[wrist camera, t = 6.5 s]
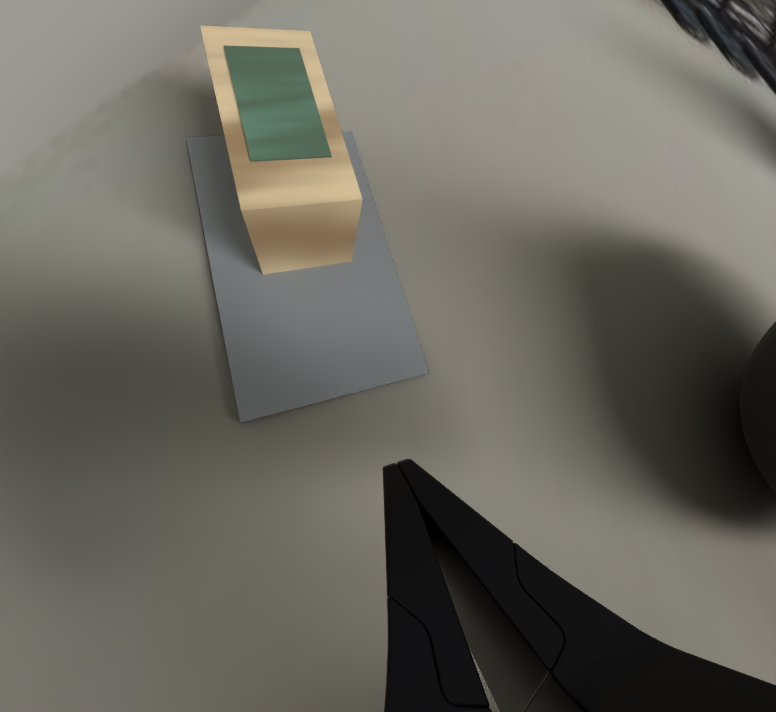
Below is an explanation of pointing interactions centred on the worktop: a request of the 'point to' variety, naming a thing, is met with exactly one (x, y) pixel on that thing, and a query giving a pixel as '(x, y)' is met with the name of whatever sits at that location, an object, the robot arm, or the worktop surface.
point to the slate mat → (302, 303)
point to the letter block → (284, 147)
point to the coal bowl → (761, 406)
